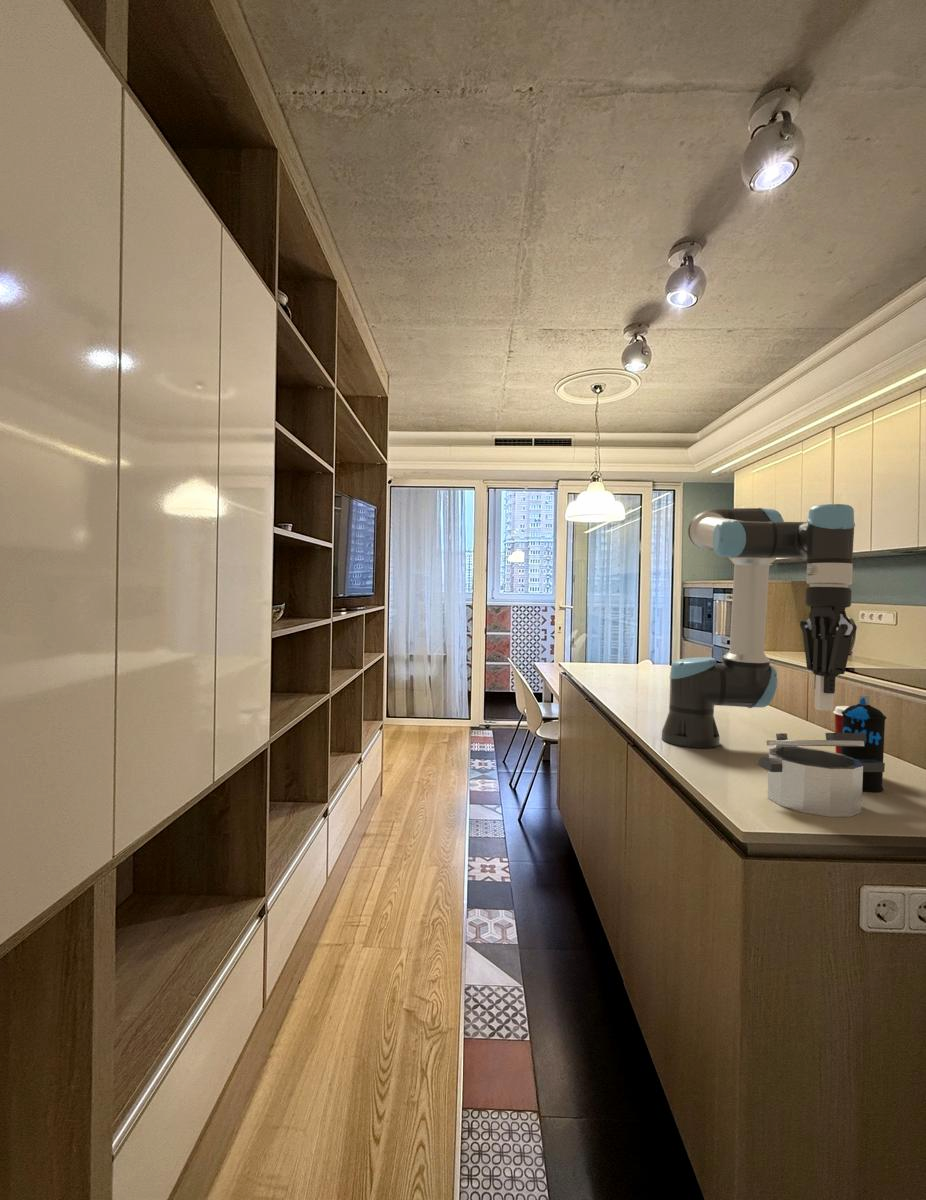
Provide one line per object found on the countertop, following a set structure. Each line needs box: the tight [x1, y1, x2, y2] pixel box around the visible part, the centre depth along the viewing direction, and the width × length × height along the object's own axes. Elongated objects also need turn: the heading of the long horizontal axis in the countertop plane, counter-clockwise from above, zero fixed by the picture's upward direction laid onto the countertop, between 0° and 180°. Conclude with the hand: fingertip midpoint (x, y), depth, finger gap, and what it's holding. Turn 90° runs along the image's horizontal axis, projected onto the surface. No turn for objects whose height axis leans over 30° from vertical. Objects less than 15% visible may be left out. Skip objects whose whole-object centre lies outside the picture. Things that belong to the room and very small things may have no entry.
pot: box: [758, 746, 886, 818], centre depth 122 cm, size 18×24×9 cm
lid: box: [765, 732, 867, 747], centre depth 122 cm, size 17×19×3 cm
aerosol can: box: [841, 694, 887, 793], centre depth 133 cm, size 8×8×20 cm
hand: (823, 709), depth 116 cm, fingers closed
